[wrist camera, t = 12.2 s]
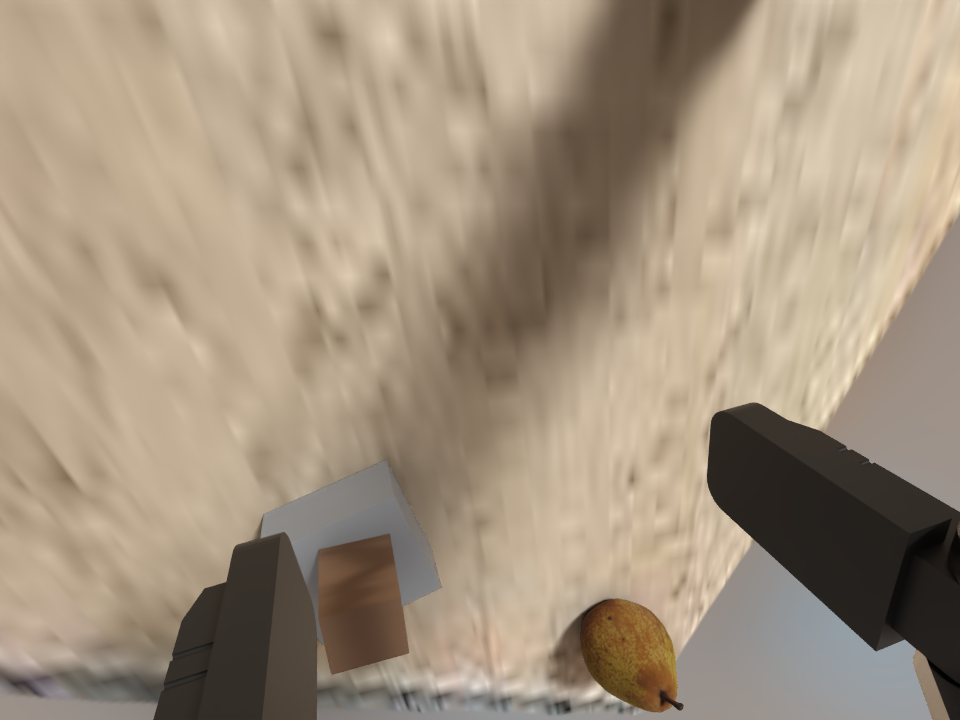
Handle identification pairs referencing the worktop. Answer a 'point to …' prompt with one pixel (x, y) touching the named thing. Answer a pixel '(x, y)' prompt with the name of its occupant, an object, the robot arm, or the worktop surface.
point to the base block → (357, 529)
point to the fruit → (630, 654)
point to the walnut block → (360, 604)
